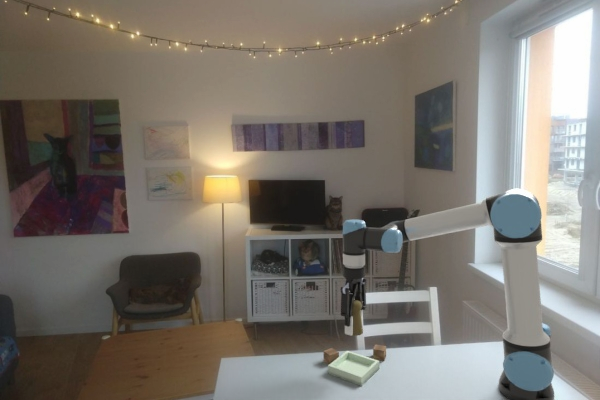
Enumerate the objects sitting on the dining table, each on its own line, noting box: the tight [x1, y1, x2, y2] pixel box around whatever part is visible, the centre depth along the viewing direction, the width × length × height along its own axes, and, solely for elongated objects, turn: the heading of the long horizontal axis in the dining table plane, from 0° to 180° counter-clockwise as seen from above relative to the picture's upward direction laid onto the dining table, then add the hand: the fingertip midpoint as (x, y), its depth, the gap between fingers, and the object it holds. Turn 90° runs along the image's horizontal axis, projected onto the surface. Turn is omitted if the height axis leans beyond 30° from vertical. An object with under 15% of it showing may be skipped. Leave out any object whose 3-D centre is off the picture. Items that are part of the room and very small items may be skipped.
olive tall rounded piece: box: [351, 299, 364, 337], centre depth 138 cm, size 6×6×11 cm
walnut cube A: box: [372, 344, 387, 362], centre depth 150 cm, size 4×4×4 cm
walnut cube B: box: [323, 347, 340, 366], centre depth 147 cm, size 4×4×4 cm
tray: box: [327, 350, 380, 387], centre depth 141 cm, size 13×13×3 cm
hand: (353, 330), depth 139 cm, fingers closed on olive tall rounded piece, 6 cm apart
